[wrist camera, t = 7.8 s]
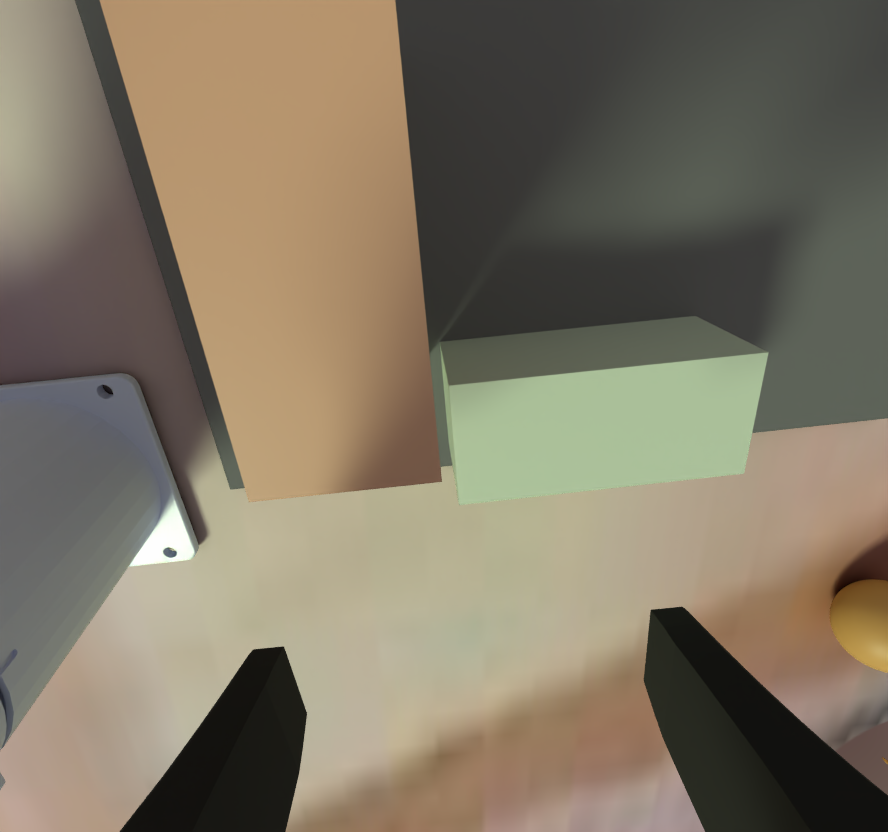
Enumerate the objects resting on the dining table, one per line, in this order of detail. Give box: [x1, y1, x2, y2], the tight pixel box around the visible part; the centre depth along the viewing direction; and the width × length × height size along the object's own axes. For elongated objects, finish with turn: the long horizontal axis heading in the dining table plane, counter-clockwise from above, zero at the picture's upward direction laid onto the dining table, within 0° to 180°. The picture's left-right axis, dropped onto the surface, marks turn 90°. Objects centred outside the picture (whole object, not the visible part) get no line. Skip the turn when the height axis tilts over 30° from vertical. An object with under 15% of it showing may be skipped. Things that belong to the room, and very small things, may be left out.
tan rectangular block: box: [100, 0, 442, 502], centre depth 10 cm, size 4×9×4 cm, turn 4°
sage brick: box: [440, 316, 769, 505], centre depth 17 cm, size 9×4×4 cm, turn 95°
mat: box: [75, 0, 888, 489], centre depth 16 cm, size 26×18×1 cm
